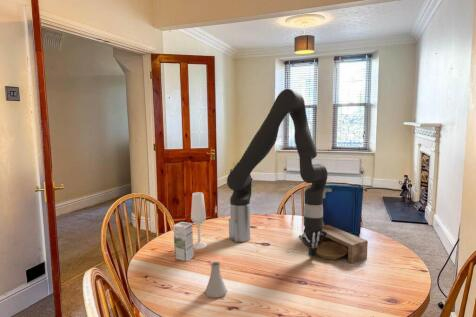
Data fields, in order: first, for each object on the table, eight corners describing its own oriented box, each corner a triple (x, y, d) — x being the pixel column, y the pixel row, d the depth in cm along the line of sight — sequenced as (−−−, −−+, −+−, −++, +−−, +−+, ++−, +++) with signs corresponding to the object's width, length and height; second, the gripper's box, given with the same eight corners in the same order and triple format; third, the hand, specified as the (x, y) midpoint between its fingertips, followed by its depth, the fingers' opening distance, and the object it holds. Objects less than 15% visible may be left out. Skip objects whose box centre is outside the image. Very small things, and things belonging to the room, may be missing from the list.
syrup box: (194, 256, 129) (193, 222, 127) (186, 262, 123) (184, 227, 122) (182, 254, 131) (181, 220, 129) (174, 259, 126) (172, 225, 124)
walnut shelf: (351, 263, 120) (352, 244, 119) (313, 243, 140) (313, 227, 139) (366, 258, 124) (367, 240, 123) (327, 240, 144) (327, 224, 143)
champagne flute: (189, 247, 138) (187, 194, 135) (196, 241, 144) (194, 191, 141) (202, 249, 135) (200, 195, 132) (209, 243, 142) (208, 192, 139)
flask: (205, 287, 105) (204, 259, 103) (226, 286, 105) (226, 258, 104) (204, 299, 97) (203, 269, 96) (227, 298, 98) (227, 268, 97)
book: (359, 231, 155) (360, 182, 151) (363, 236, 148) (365, 185, 145) (314, 230, 157) (315, 181, 154) (317, 235, 150) (317, 184, 147)
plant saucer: (342, 265, 119) (342, 258, 119) (305, 256, 127) (306, 250, 127) (351, 251, 131) (352, 245, 131) (317, 244, 139) (317, 238, 139)
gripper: (319, 209, 129) (318, 249, 131) (294, 214, 123) (293, 255, 125) (332, 214, 123) (331, 256, 125) (306, 219, 117) (305, 263, 119)
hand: (312, 255), depth 125 cm, fingers closed
